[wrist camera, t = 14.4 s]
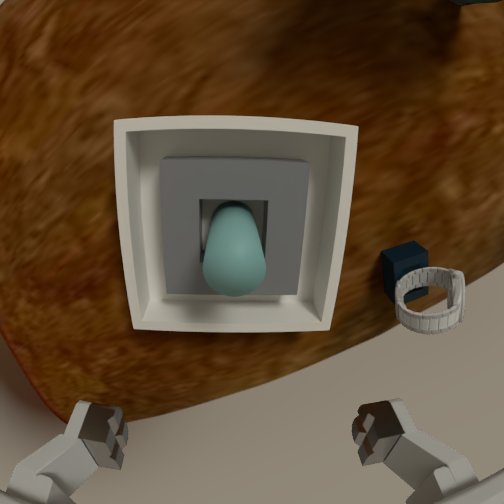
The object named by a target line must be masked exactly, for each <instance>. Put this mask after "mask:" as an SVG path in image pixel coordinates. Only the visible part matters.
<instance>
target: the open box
mask: <svg viewBox="0 0 504 504" xmlns="http://www.w3.org/2000/svg"><path fill="white" fill-rule="evenodd" d="M357 138H358V126H352V125H345V124H337V123H329V122H320V121H310V120H299V119H287V118H272V117H252V116H166V117H146V118H132V119H120V120H114V161H115V183H116V199H117V212H118V224H119V234H120V243H121V252H122V260H123V267H124V275H125V282H126V288H127V295H128V301H129V307H130V312H131V318H132V323H133V329H143V330H162V331H187V332H295V331H321V330H330V325H331V320H332V315H333V310H334V305H335V300H336V295H337V289H338V284H339V278H340V272H341V267H342V261H343V254H344V248H345V242H346V235H347V228H348V221H349V213H350V206H351V198H352V189H353V180H354V171H355V161H356V150H357ZM232 200H234V201H240V202H242V203H244V204H246V205H247V206H248V207H249V208H250V209H251V210H252V212H253V215H254V218H255V222H256V226H257V230H258V234H259V238H260V242H261V246H262V250H263V254H264V258H265V263H266V273H265V277H264V279H263V281H262V283H261V284H260V285H259V287H258V288H256V289H255V290H254V291H253V292H251V293H249V294H246V295H243V296H238V297H230V296H225V295H222V294H220V293H218V292H216V291H215V290H213V289H212V288H211V287H210V286H209V285H208V283H207V282H206V280H205V278H204V275H203V262H204V256H205V250H206V245H207V239H208V234H209V228H210V223H211V217H212V214H213V212H214V210H215V209H216V208H217V207H218V206H219V205H220V204H222V203H224V202H226V201H232Z"/></svg>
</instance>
